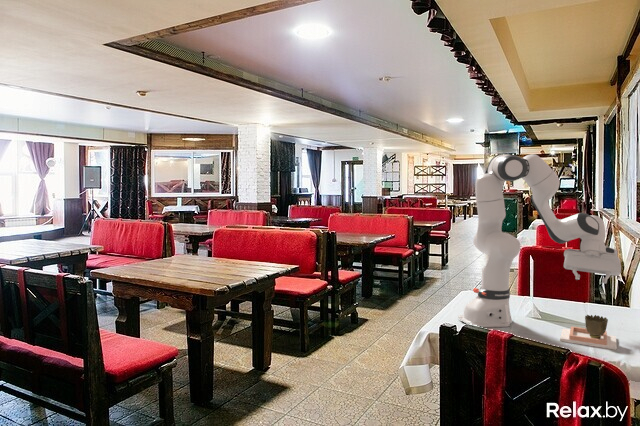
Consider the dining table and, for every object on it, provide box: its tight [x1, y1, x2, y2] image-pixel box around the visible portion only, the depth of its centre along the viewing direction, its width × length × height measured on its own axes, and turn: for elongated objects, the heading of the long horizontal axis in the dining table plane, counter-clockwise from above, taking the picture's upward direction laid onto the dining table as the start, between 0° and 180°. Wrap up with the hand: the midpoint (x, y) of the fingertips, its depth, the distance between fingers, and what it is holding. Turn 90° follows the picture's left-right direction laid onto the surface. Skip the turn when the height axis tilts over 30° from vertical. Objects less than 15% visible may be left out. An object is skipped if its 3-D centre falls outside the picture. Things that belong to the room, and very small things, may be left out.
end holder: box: [559, 325, 618, 351], centre depth 174 cm, size 13×18×2 cm
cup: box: [584, 314, 609, 339], centre depth 173 cm, size 8×7×8 cm
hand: (590, 280), depth 185 cm, fingers open, 8 cm apart
